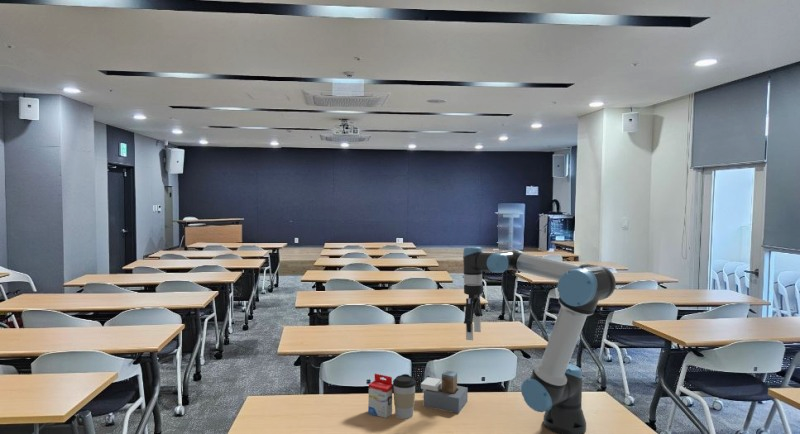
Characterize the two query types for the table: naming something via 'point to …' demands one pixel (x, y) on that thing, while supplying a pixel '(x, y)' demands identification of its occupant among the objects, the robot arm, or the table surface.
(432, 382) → the lid
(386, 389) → the ink box
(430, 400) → the socket block
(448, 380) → the plug
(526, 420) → the table surface
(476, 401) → the table surface
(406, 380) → the coffee cup
